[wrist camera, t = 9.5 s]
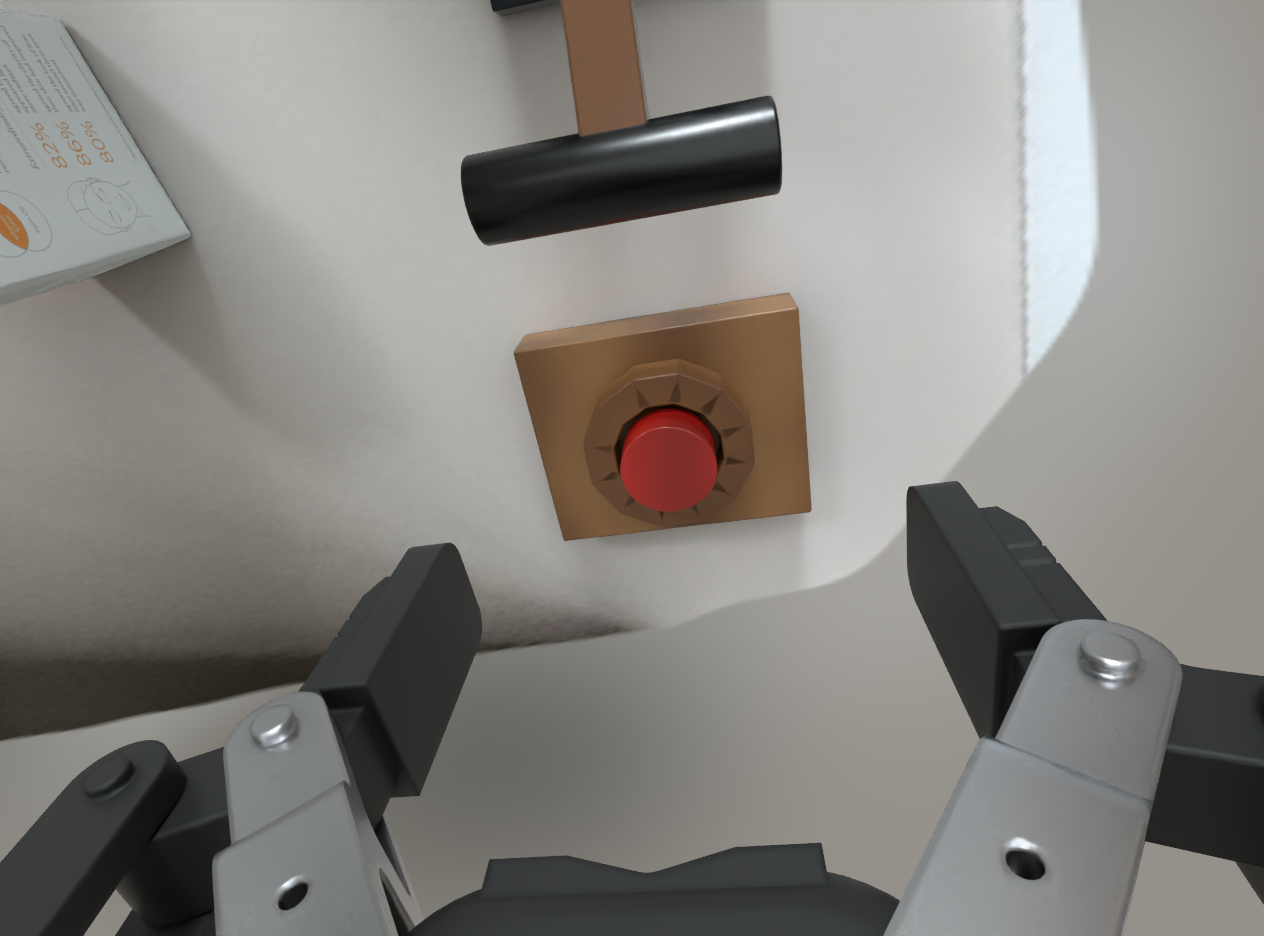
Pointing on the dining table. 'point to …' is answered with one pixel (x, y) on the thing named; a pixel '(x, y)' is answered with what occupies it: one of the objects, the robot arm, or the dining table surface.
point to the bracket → (518, 5)
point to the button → (668, 460)
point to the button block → (671, 379)
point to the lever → (620, 146)
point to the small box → (67, 169)
